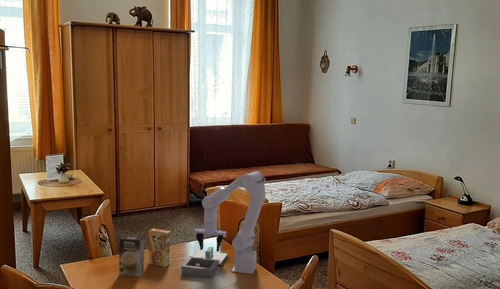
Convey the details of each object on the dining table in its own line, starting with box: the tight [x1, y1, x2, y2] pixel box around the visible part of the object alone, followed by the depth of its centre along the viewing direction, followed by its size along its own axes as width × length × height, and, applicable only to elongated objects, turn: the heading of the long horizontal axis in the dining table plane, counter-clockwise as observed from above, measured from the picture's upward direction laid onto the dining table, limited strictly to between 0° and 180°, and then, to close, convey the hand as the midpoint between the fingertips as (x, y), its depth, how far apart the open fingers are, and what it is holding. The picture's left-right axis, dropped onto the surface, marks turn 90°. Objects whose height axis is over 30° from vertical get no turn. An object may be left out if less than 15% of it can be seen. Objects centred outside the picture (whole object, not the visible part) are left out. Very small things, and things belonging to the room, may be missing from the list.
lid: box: [192, 246, 228, 265], centre depth 216 cm, size 14×12×5 cm
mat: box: [218, 255, 230, 268], centre depth 216 cm, size 16×13×1 cm
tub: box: [180, 256, 219, 280], centre depth 202 cm, size 13×11×4 cm
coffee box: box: [118, 233, 145, 278], centre depth 197 cm, size 9×6×16 cm
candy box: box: [148, 228, 171, 267], centre depth 208 cm, size 9×4×15 cm, turn 70°
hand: (209, 250), depth 216 cm, fingers open, 7 cm apart
